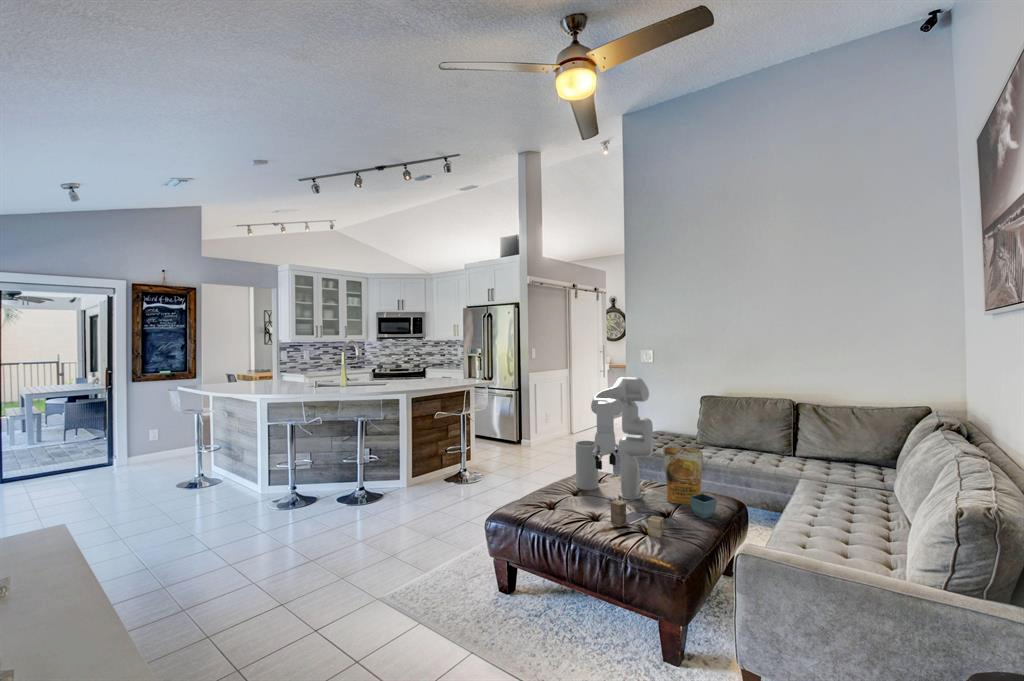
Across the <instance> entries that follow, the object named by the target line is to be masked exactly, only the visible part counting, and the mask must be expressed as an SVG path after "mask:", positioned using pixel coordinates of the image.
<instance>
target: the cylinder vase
mask: <svg viewBox="0 0 1024 681" xmlns="http://www.w3.org/2000/svg"><path fill="white" fill-rule="evenodd" d="M594 442H595V440H580V441H579V440H578V441H576V442H575V481H576V482H575V483H576V484H575V486H576V487H577V489H579V490H583V491H593V490H597V489H598V488H599V487H600V486H599V483H600V482H599V469H596V460H595V459H594V457H593V455H592V451H593V450H594Z"/></svg>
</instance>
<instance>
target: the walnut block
mask: <svg viewBox="0 0 1024 681" xmlns="http://www.w3.org/2000/svg"><path fill="white" fill-rule="evenodd" d="M626 513H627V502H626V501H624V500H623V501H622V500H620V499H615V500H613V501H611V502H610V524H611V525H613V526H616V527H619V528H620V527H622V526H625V525H627V523H626Z"/></svg>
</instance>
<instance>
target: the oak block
mask: <svg viewBox="0 0 1024 681" xmlns="http://www.w3.org/2000/svg"><path fill="white" fill-rule="evenodd" d="M647 527H648V531H647V532H648V533H647V534H648V536H651V537H656V538H661V537H662V536H664V517H661V516H656V515H651V516H650V517H649V518H648V519H647Z"/></svg>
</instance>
